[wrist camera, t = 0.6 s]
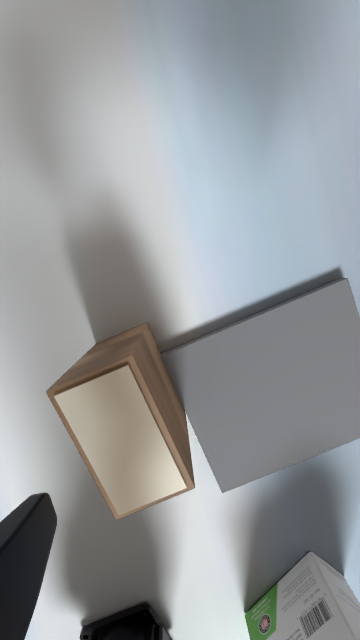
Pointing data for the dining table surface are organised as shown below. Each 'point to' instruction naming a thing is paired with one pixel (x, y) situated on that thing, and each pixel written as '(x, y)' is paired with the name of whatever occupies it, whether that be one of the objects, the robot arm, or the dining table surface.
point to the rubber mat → (273, 384)
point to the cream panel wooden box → (127, 422)
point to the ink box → (307, 606)
